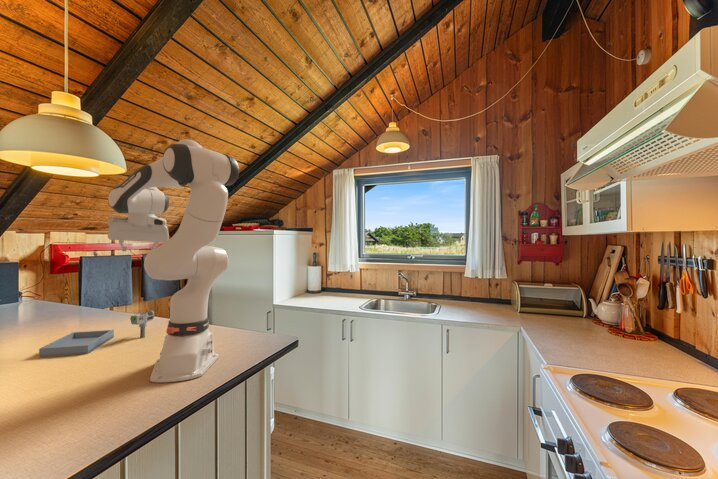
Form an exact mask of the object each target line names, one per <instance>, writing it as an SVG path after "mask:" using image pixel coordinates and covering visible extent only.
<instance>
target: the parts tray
mask: <svg viewBox="0 0 718 479" xmlns="http://www.w3.org/2000/svg"><path fill="white" fill-rule="evenodd" d="M114 335H115V330H114V329H107V330H89V331H88V330H87V331H72V332H71V333H69V334H67V335H65V336H62V337H60V338H58V339H56V340H54V341H52V342H50V343H48V344H46V345H43V346H41V347H40V348H38V351H39V352H38V353H39V354H38V357H39V358H49V357H62V356H76V355H88V354H90V353H91V352H93V351H94V350H96V349H98V348H99V347H101V346H102V345H103V344H105V343H107V342H109V341H110V340H111V339H113V338H114V337H115V336H114Z"/></svg>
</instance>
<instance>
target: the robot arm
mask: <svg viewBox="0 0 718 479" xmlns="http://www.w3.org/2000/svg"><path fill="white" fill-rule="evenodd" d="M239 174H240V167H239V164H238V161H237V160H236V159H235V158H234V157H233V156H230V155H229V154H226V153H220V152H218V151H215V150H211V149H208V148H205V147H203V146H202V145H201V144H199V142H197V141H195V140H193V139H188V138H187V139H185V138H184V139H180V140H178V141H177V142H176V143H171V144H169V145H168V146H167V147H166V148H165V150H164V152H163V156H162V157H161V158H159V159H158V160H156V161H153V162H151V163H149V164H144V165H143V166H141V167H139V168H138V169H136V170H135V171H134V172H132V173H131V175H129V176H128V177H127V178H126V179H125V180H124V181H122V182H121V183H120V184H117V185H116V186H114V187H113V188H112V189H111V190H110V191H109V194H108V198H107V201H108V206H109V207H110V208H111V209H112V210H114V211H115V212H116V213H118V214H127V216H111V217H109V218H108V220H107V226H108V232H107V238H108V240H111V241H118V244H119V245H120V246H121V251H122V252H127V251H128V248H127V246H126V245H124V242H125V241H128V242H129V241H130V242H146V243H147V242H150V243H153V244H154V246H151V247H150V251H149V252H148V253H147V254H146V256H145V258H144V262H143V263H144V264H143V268H144V270H145V273H146V274H147V275H148V276H149V278H151V279H152V280H159V281H179V280H187V279H188V280H187V283H186V284H185V286H183V288H181V289H180V290H177V291H176V292H175V293H174V294H173V295H172V296H171V299H170V301H169V304H170V305H169V314H170V315H169V320H168V325H167V327H166V331H165V332H166V335H165V336H164V341H163V344H162V348H161V351H160V353H159V358H158V359H157V360H156V361H155V363H154V366H153V368H152V372H151V375H150V376H149V382H152V383H171V382H173V383H174V382H181V381H187V380H192V379H196V378H199V377H202V376H203V375H204V374H205V373H206V372H207V370H208V369H209V368H210V367H211V366H212V365H213V364H214V363H215V362H216V361H217V360H218V359H219V358H220V355H219V353H216V352H215V349H214V345H215V344H214V333H213V332H212V331H210V329H209V325H210V320H209V316H208V306H209V296H210V293H211V290H212V288H213V285H214V284H215V282H216V281H217V279H218V278H219V277H220V276H221V275H222V274H224V273H225V271H227V269H228V266H229V264H230V263H229V262H230V260H229V255H228V253H227V251H226V250H225V249H224V248H222V247H218V246H212V245H211V246H210V244H211V243H213V242H214V241H215V240H216V239H217V238H218V236H219V232H220V230H221V227H222V223H223V221H224V217H225V214H226V210H227V206H228V201H229V191H228V188H227V187H228V186H232V185H233V184H235V183H236V182H237V180H238V178H239ZM186 185H188V186H189V191H190V194H189V198H188V200H187V203H186V207H185V210H184V213H183V217H182V219H181V222H180V225H179V227H178V228H177V231H176V232H175V233H174V234H173V235H172V236H171V238H169V237H170V236H169V233H170V232H169V228H168V227H167V223H168V222H167V220H166V218H163V217H159V216H157V215H163V214H165V213H166V212H167V211H168V209H169V206H170V198H169V196H168V195H167V193H165V192H164V191H161V190H160V189H159V188H180V187H181V188H182V187H185V186H186ZM226 186H227V187H226ZM159 243H163V244H161V245H159Z"/></svg>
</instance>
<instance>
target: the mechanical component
mask: <svg viewBox="0 0 718 479" xmlns="http://www.w3.org/2000/svg"><path fill="white" fill-rule="evenodd" d="M154 318H155V310H148V311H147V312H145V311H144V312H143V311H142V312H139V313H136V314H132V315H130V318H129V319H130V323H131V325H138V327H139V328H140V333H139V334H140V335H139V336H140V338H146V327H147V323H148V322H151V321H153V320H154Z"/></svg>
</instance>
